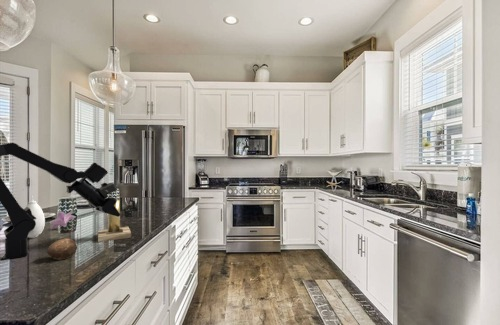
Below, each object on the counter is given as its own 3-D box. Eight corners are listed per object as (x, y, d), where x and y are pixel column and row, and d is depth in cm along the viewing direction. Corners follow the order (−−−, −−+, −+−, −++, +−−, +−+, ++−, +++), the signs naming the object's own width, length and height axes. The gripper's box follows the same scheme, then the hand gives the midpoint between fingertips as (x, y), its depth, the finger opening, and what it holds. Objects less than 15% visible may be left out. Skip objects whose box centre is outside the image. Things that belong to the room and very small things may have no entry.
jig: (131, 237, 109) (131, 232, 109) (98, 241, 103) (97, 236, 103) (128, 230, 119) (128, 226, 119) (98, 234, 113) (98, 230, 113)
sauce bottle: (49, 235, 112) (48, 194, 112) (29, 241, 105) (29, 196, 104) (36, 234, 114) (35, 193, 114) (15, 239, 107) (15, 196, 107)
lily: (80, 227, 131) (73, 211, 132) (80, 222, 122) (73, 206, 123) (54, 238, 124) (47, 221, 125) (52, 234, 115) (44, 216, 116)
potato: (53, 244, 90) (57, 231, 88) (78, 250, 93) (82, 238, 91) (40, 263, 83) (44, 250, 81) (67, 268, 86) (71, 256, 84)
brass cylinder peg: (118, 231, 110) (118, 201, 110) (107, 232, 108) (106, 201, 108) (120, 229, 114) (120, 199, 114) (109, 229, 113) (109, 200, 113)
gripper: (111, 177, 102) (139, 202, 110) (96, 176, 115) (122, 198, 123) (89, 200, 96) (120, 224, 104) (75, 195, 109) (104, 217, 117)
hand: (117, 215), depth 112 cm, fingers closed on brass cylinder peg, 4 cm apart
